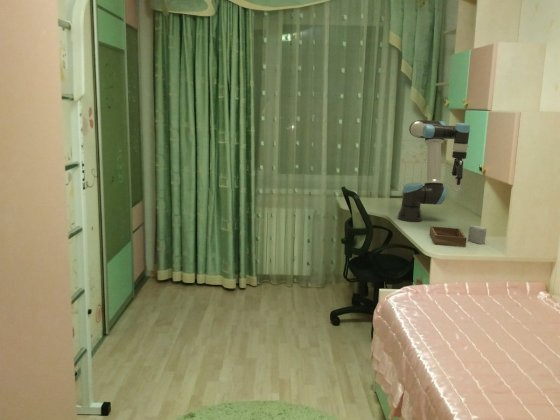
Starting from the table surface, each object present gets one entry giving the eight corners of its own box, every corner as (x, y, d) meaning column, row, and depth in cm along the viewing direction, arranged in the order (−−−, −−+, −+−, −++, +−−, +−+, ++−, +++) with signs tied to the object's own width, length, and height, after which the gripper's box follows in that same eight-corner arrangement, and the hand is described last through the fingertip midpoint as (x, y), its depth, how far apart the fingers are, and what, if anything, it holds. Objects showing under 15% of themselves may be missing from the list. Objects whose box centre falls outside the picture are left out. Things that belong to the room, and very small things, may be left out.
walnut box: (429, 234, 304) (430, 226, 303) (458, 237, 302) (459, 228, 301) (434, 244, 283) (435, 235, 282) (465, 247, 280) (466, 238, 279)
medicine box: (484, 243, 290) (487, 228, 289) (480, 244, 288) (482, 229, 286) (472, 240, 296) (474, 225, 295) (467, 241, 294) (469, 225, 292)
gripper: (471, 153, 285) (466, 192, 289) (462, 149, 309) (458, 186, 313) (456, 152, 286) (451, 191, 290) (449, 149, 310) (445, 185, 314)
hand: (455, 188), depth 302 cm, fingers open, 13 cm apart
